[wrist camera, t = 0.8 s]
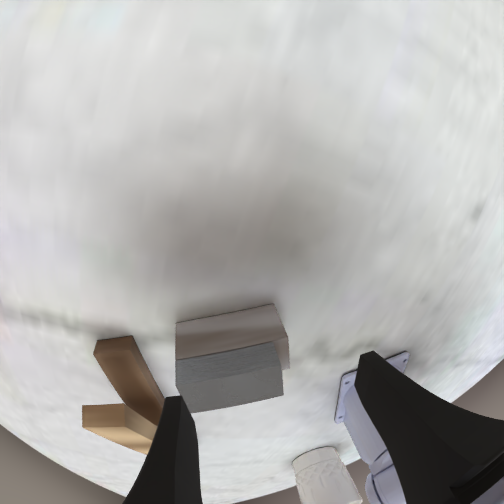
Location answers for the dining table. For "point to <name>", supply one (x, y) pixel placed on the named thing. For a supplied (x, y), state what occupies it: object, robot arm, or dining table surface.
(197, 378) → the bar
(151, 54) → the dining table surface
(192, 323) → the brown grey blocky piece
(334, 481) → the white cup
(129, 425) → the arm
